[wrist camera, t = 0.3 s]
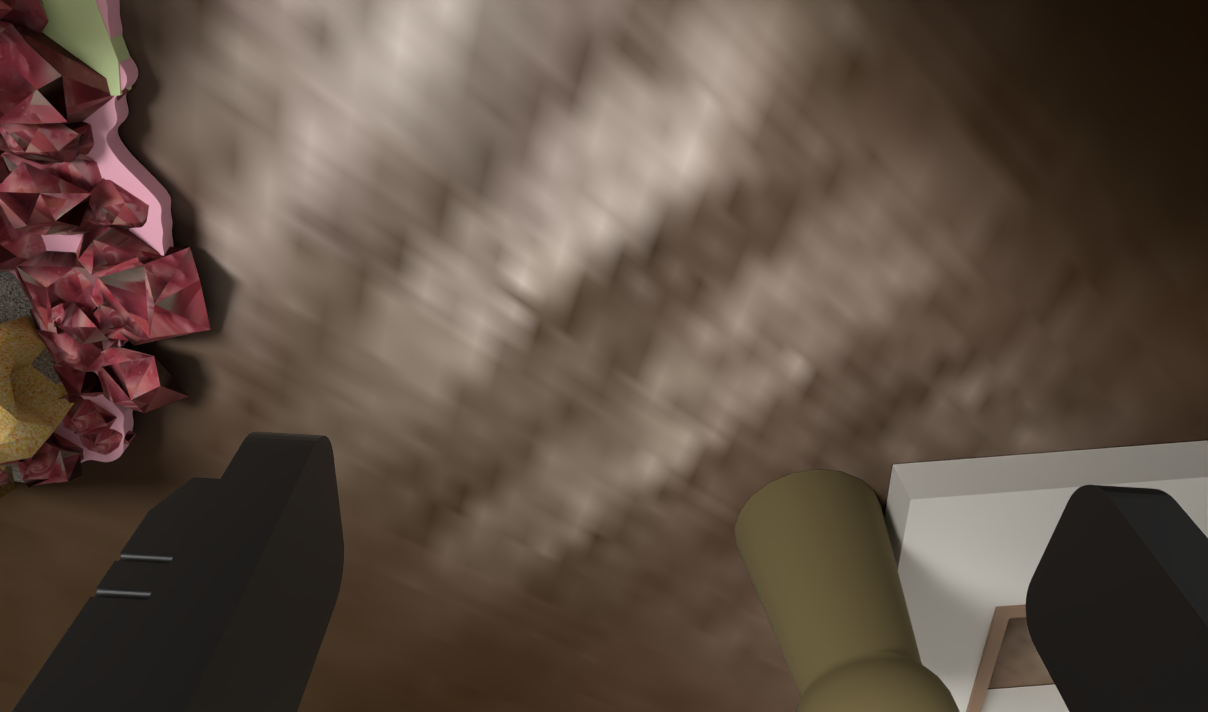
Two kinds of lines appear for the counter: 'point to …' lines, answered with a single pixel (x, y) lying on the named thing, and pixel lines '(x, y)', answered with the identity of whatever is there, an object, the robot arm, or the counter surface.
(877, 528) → the cork
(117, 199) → the candy landscape model
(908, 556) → the socket board
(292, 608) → the robot arm
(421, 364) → the counter surface
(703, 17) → the counter surface
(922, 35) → the counter surface
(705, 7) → the counter surface
